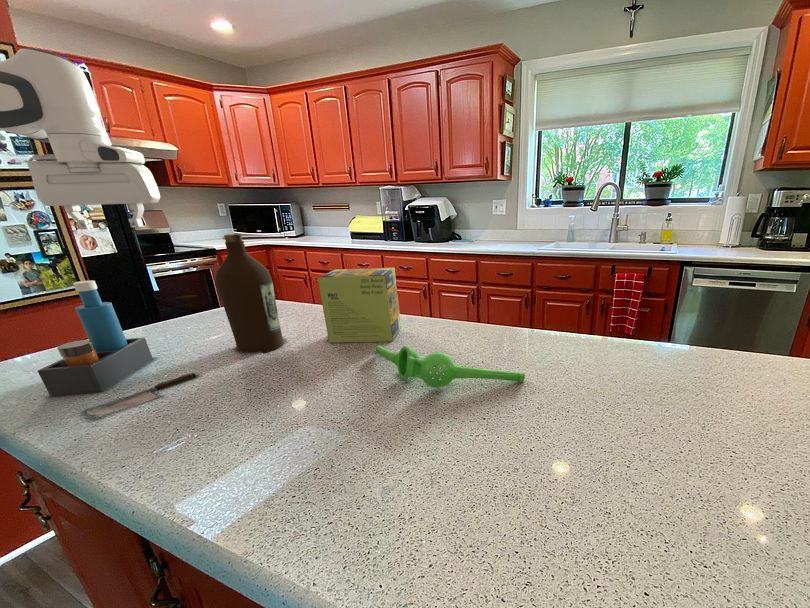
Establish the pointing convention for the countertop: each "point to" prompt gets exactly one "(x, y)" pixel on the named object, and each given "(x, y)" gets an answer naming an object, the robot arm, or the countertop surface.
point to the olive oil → (248, 299)
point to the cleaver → (140, 396)
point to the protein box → (360, 305)
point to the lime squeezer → (421, 368)
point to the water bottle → (99, 319)
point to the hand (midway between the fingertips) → (112, 228)
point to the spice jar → (78, 353)
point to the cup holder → (96, 370)
